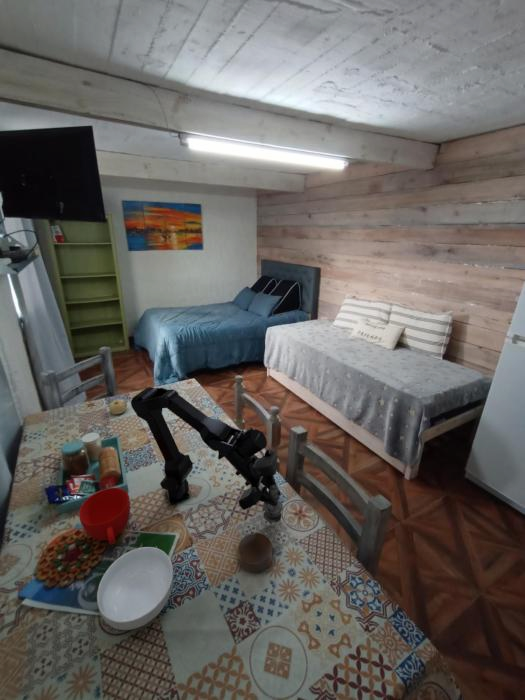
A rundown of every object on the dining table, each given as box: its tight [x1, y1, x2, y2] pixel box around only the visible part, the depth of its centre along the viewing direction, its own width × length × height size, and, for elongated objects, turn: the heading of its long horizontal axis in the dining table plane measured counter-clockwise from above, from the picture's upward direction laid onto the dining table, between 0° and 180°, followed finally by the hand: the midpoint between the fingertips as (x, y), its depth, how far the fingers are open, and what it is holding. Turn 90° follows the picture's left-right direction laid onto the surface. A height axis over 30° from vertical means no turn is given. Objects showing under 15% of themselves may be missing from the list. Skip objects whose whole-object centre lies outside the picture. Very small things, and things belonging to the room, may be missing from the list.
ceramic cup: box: [78, 487, 131, 545], centre depth 90 cm, size 13×17×10 cm
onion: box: [108, 398, 128, 415], centre depth 152 cm, size 8×8×7 cm
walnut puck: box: [238, 532, 273, 574], centre depth 86 cm, size 9×9×4 cm
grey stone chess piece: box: [262, 485, 284, 524], centre depth 93 cm, size 6×6×12 cm
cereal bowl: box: [96, 546, 175, 631], centre depth 75 cm, size 17×17×7 cm
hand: (277, 500), depth 92 cm, fingers closed on grey stone chess piece, 3 cm apart
